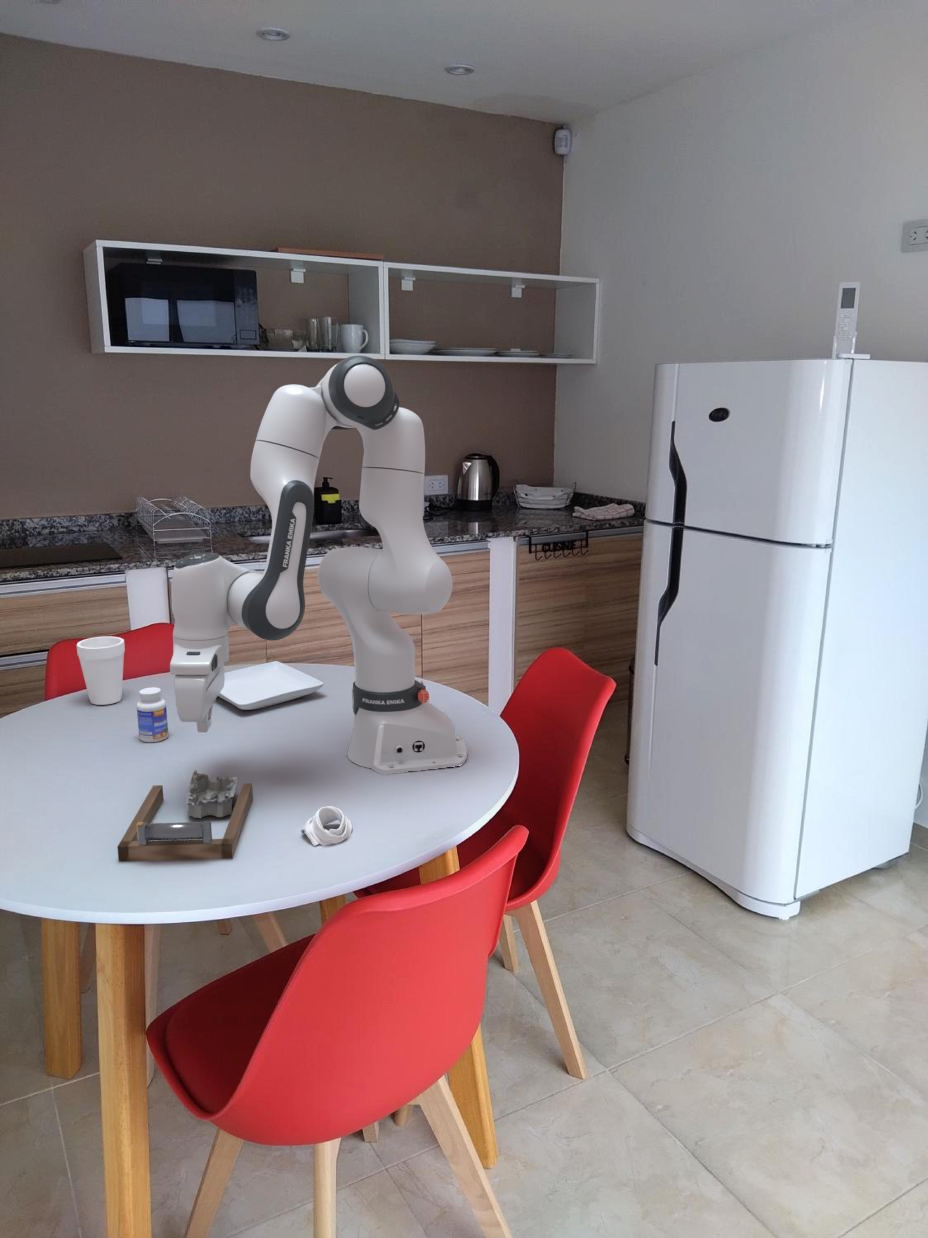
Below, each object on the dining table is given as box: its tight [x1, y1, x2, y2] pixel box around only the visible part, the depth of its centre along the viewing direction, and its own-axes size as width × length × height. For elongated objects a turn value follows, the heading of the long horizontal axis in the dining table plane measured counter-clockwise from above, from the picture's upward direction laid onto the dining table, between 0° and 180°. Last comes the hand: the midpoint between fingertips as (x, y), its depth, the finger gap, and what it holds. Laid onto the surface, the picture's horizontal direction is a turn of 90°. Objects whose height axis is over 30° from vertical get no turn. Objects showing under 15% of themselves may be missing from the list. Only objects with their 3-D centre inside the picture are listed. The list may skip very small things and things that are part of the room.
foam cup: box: [76, 635, 126, 706], centre depth 191 cm, size 10×9×13 cm
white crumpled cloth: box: [300, 805, 353, 847], centre depth 135 cm, size 8×7×5 cm
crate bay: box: [116, 782, 254, 863], centre depth 137 cm, size 16×20×3 cm
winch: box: [136, 820, 213, 846], centre depth 127 cm, size 10×2×3 cm, turn 95°
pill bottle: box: [136, 686, 169, 743], centre depth 171 cm, size 5×5×10 cm
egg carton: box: [185, 770, 239, 819], centre depth 144 cm, size 11×8×4 cm
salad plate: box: [217, 660, 325, 711], centre depth 198 cm, size 21×21×3 cm
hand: (204, 729), depth 151 cm, fingers closed
